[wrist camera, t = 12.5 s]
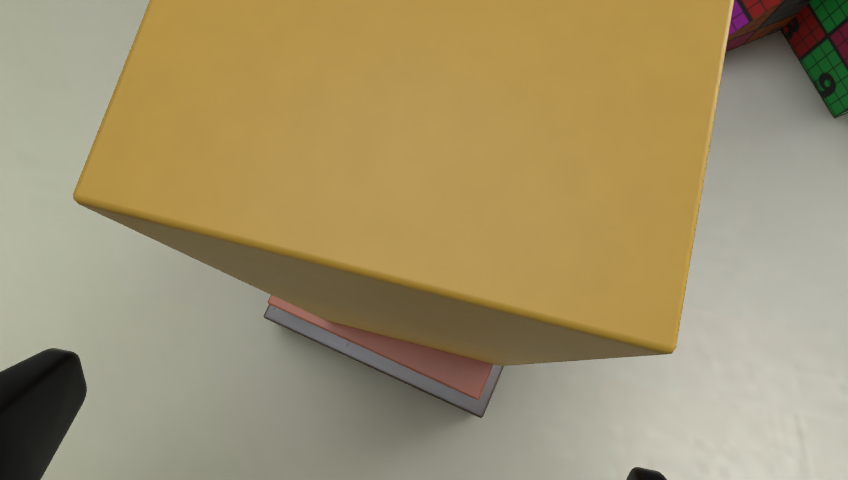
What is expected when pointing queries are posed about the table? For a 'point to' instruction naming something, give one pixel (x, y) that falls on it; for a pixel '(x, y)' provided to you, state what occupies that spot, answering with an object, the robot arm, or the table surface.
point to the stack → (398, 358)
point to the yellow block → (428, 162)
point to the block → (802, 39)
